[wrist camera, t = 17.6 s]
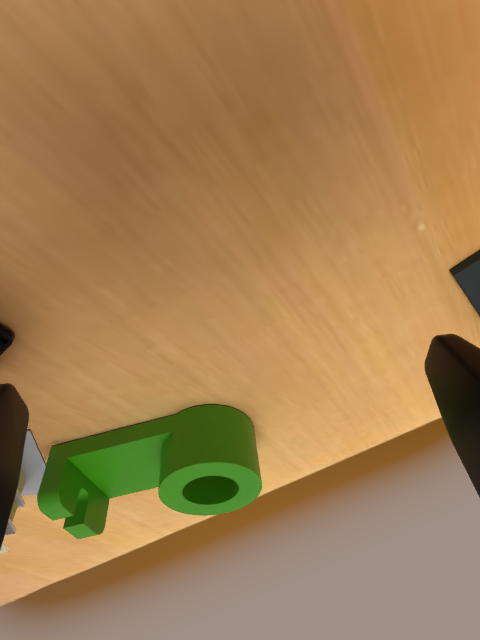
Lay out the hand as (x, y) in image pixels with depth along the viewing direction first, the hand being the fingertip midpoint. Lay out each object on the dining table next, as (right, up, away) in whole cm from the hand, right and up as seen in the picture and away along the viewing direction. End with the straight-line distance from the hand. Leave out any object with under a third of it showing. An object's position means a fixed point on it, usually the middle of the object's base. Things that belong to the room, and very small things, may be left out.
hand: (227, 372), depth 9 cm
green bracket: (-6, -9, +24) cm, 26 cm away
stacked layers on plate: (-20, -10, +23) cm, 32 cm away
